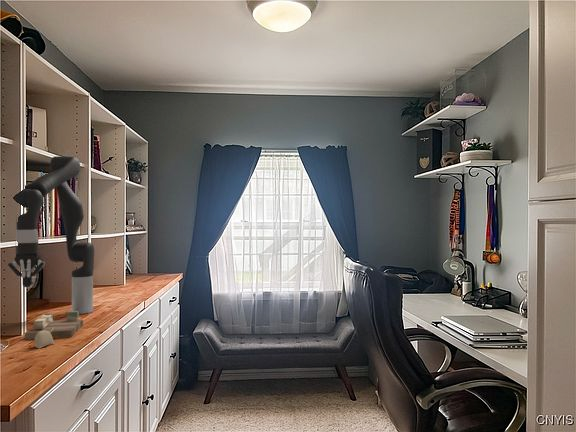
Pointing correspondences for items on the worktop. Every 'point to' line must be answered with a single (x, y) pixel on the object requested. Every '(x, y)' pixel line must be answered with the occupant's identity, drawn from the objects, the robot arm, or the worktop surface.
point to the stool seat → (60, 327)
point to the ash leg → (43, 321)
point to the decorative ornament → (43, 338)
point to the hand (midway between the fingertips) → (27, 286)
